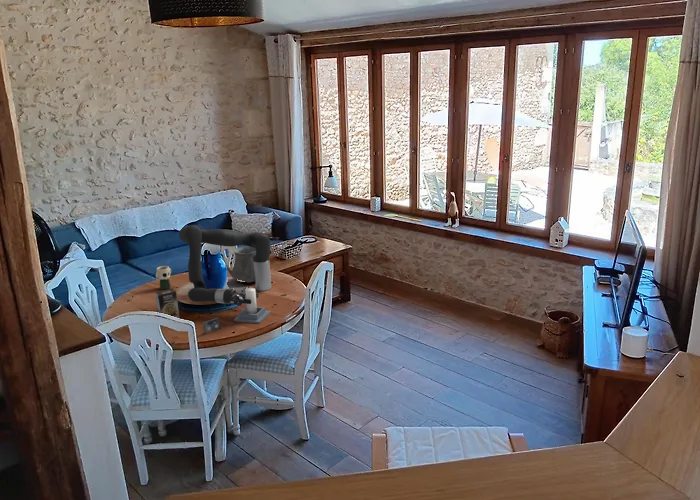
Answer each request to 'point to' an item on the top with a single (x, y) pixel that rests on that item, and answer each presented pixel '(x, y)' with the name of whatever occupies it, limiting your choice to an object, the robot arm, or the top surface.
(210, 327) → the mini dv tape
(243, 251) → the vessel
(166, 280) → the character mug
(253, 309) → the cream canister
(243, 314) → the slate socket
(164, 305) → the coffee box
